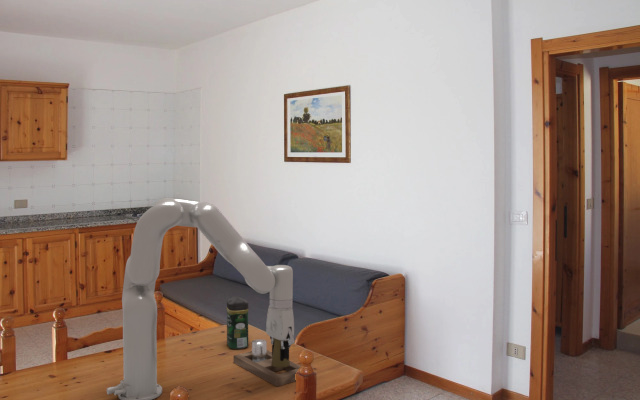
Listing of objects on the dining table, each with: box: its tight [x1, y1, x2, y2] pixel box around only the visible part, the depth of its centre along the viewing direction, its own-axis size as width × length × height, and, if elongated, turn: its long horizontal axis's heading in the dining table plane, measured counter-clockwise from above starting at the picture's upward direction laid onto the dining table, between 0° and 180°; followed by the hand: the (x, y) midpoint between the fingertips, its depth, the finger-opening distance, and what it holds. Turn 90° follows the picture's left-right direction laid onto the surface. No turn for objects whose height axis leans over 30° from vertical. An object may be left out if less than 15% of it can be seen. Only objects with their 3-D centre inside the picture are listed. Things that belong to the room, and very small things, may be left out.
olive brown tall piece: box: [271, 337, 290, 368], centre depth 180 cm, size 6×6×11 cm
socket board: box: [233, 349, 301, 387], centre depth 186 cm, size 13×27×2 cm, turn 39°
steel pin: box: [251, 338, 268, 362], centre depth 190 cm, size 5×5×8 cm
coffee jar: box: [226, 296, 249, 350], centre depth 209 cm, size 10×8×19 cm
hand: (280, 357), depth 180 cm, fingers closed on olive brown tall piece, 4 cm apart
